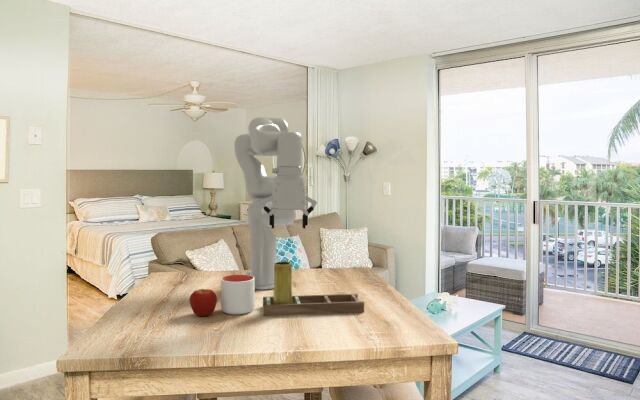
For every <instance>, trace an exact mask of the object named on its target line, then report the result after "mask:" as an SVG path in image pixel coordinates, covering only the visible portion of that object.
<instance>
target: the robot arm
mask: <svg viewBox="0 0 640 400" xmlns="http://www.w3.org/2000/svg"><path fill="white" fill-rule="evenodd" d="M248 132H249V133H242V134H240V135H238V136H237V137H236V138H235V140H234V154H235V158H236V160H237V163H238V166H240V169H241V170H242V172H243V177H244V182H245V187H246V191H247V197H248V198H249V199H250V200H251V201H252V202H251V203H249V204H248V207H247V219H248V225H249V226H248V227H249V244H250V245H249V246H250V251H249V253H250V254H249V255H250V258H249V259H250V262H249V263H250V271H247V272H246V273H244V275H250V276H253V277H254V278H255V290H261V291H262V290H263V291H264V290H266V291H267V290H272V289H273V290H274V263H275V262H277V236H276V234H275V233H274V232H273V231H272V229H275V226H289V225H292V224H293V223H294V222H295V220H296V211H301V212H302V213H303V214H302V219H301V220H302V224H301V225H302V226H301V227H302V228H303V229H306V226H308V218H309V217H308V216H309V215H310V214H311V213H312V212H313V211H314V209H315V208H316V206H317V204H318V202H317V201H316V200H315V199H314V198H312V197H309V196H308V195H306V184H305V177H304V176H302V157H303V156H302V155H303V154H302V153H303V151H302V149H303V148H302V147H303V138H302V137H303V136H302V134H301V133H300V132H298V131H289V125H288V123H287V121H286V120H285V119H284V118H280V117H265V116H263V117H261V116H260V117H255V118H253V119H252V120H251V121H250V122H249V124H248ZM255 156H256V157H257V156H259V157H260V156H261V157H262V156H263V157H266V156H267V157H273V156H276V167H275V168H271V171H272V172H271V173H272V174H276V176H269V175H267V170H266V168H265V166H264V164H263V163H262V162H261V161H260V160H259V159H258V158H256V157H255ZM307 202H308V203H310V206H309V207H308V208H306V206H307V205H306V203H307ZM270 227H271V228H270Z"/></svg>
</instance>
